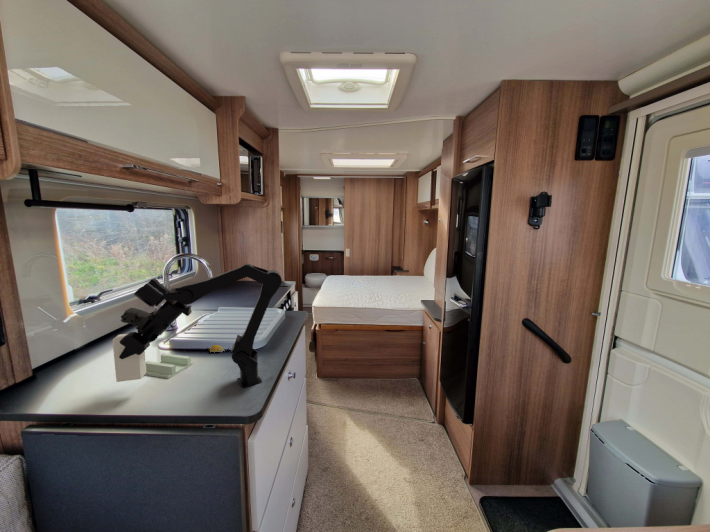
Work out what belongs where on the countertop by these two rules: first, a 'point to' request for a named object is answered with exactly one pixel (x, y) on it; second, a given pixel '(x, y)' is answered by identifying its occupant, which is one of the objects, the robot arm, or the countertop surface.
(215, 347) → the bread roll
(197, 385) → the countertop surface
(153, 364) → the tile rack
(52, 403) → the countertop surface
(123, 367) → the beige rectangular box
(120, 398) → the countertop surface
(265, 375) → the countertop surface
